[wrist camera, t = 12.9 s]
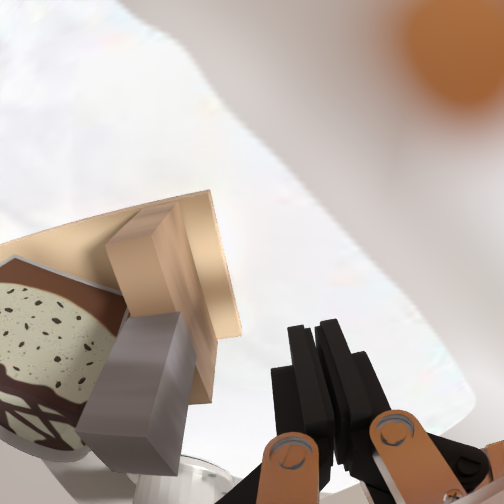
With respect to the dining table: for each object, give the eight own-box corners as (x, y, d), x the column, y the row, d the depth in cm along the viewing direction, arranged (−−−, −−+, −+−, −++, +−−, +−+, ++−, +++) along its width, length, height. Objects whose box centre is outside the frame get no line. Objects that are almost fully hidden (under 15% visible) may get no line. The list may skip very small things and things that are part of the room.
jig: (241, 326, 20) (241, 395, 15) (13, 345, 21) (-19, 388, 16) (210, 189, 17) (192, 224, 11) (-30, 254, 18) (-75, 288, 12)
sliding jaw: (221, 341, 19) (207, 509, 9) (184, 346, 19) (151, 506, 9) (182, 200, 16) (84, 339, 5) (139, 209, 16) (11, 342, 6)
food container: (8, 317, 19) (-60, 400, 10) (0, 247, 17) (-95, 325, 7) (147, 370, 20) (111, 492, 11) (158, 302, 18) (104, 442, 9)
